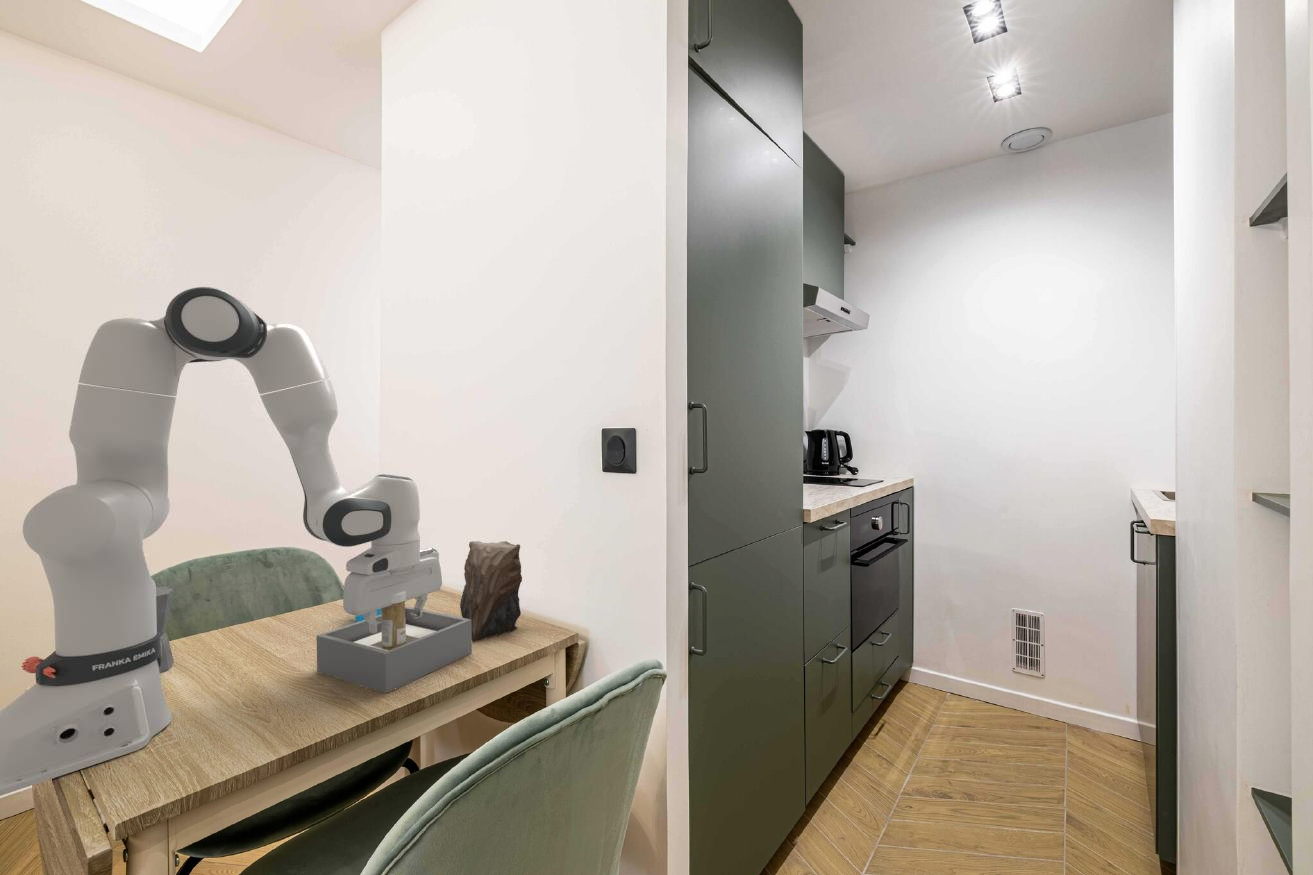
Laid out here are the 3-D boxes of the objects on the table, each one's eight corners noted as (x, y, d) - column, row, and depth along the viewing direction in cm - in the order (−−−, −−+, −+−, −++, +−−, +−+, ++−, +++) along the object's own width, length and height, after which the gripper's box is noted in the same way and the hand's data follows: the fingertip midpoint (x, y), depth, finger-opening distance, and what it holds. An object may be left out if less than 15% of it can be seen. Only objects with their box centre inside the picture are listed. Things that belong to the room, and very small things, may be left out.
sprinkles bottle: (409, 659, 110) (408, 591, 110) (384, 665, 107) (383, 596, 107) (402, 652, 114) (402, 586, 114) (378, 658, 111) (377, 591, 111)
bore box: (386, 693, 98) (385, 654, 98) (317, 671, 107) (316, 635, 107) (471, 653, 116) (471, 619, 116) (406, 637, 125) (405, 606, 125)
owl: (458, 625, 133) (457, 541, 133) (511, 616, 139) (510, 536, 139) (470, 642, 122) (469, 551, 122) (527, 631, 128) (526, 544, 128)
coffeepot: (144, 658, 114) (142, 571, 114) (193, 656, 115) (192, 569, 115) (73, 694, 99) (71, 592, 98) (130, 691, 100) (129, 591, 99)
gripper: (427, 544, 122) (428, 607, 122) (337, 564, 104) (338, 638, 104) (448, 547, 119) (449, 611, 119) (359, 568, 101) (360, 644, 101)
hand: (396, 624), depth 112 cm, fingers open, 8 cm apart
